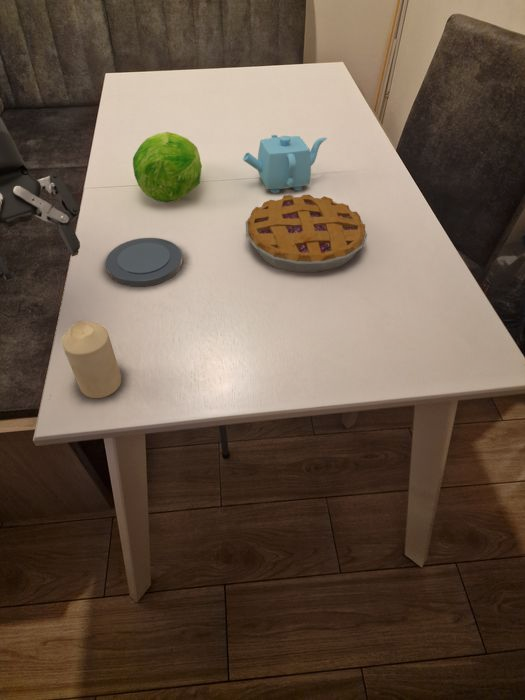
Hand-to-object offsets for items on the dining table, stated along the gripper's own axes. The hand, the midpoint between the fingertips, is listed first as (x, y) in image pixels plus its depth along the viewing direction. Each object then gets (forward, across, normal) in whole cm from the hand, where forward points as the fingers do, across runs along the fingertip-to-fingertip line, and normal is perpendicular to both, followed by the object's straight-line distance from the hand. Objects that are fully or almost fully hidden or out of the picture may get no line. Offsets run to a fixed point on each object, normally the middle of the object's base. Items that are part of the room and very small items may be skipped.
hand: (43, 265), depth 61 cm
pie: (+10, +44, +9) cm, 47 cm away
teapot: (-4, +56, +24) cm, 61 cm away
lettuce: (-13, +36, +32) cm, 50 cm away
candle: (+17, 0, +3) cm, 17 cm away
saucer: (+2, +18, +18) cm, 25 cm away
